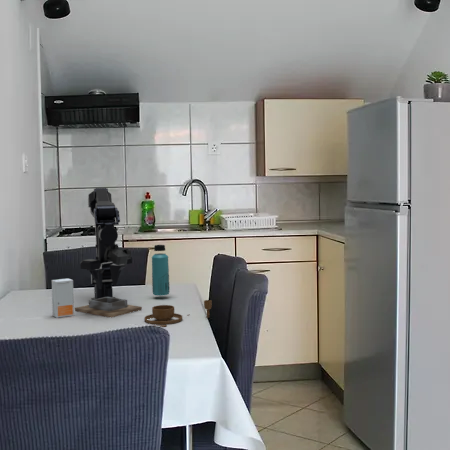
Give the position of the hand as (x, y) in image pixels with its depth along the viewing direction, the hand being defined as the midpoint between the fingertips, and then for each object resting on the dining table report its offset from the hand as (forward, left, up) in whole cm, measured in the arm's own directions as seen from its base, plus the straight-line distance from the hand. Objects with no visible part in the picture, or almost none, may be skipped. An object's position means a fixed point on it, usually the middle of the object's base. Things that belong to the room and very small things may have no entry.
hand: (107, 287), depth 208 cm
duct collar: (0, 0, -8) cm, 8 cm away
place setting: (+30, +1, -9) cm, 31 cm away
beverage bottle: (0, +26, -8) cm, 27 cm away
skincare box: (-6, -14, -8) cm, 17 cm away
